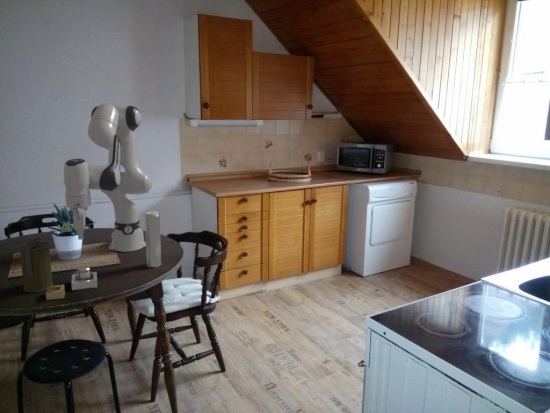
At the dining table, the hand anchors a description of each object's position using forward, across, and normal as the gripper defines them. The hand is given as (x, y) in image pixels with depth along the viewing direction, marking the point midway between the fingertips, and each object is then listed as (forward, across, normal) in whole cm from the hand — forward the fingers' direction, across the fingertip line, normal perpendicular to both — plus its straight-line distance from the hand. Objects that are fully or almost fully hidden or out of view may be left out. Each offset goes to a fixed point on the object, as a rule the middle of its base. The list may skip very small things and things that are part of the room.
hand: (81, 235), depth 168 cm
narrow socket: (+21, -8, +10) cm, 24 cm away
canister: (+21, +3, +17) cm, 27 cm away
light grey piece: (+21, +13, -29) cm, 38 cm away
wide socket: (+21, 0, 0) cm, 21 cm away
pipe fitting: (+21, 0, 0) cm, 21 cm away
